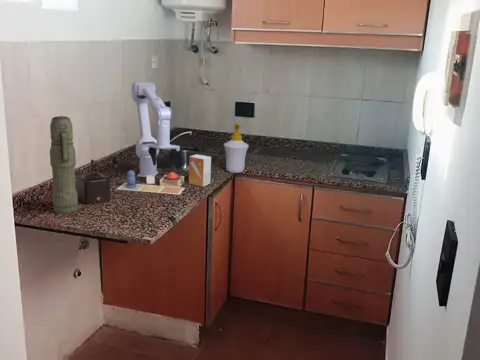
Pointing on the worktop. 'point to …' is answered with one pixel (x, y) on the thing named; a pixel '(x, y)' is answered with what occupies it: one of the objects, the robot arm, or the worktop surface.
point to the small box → (199, 170)
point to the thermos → (63, 166)
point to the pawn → (131, 179)
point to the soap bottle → (235, 152)
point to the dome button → (172, 176)
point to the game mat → (153, 189)
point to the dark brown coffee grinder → (95, 184)
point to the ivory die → (150, 178)
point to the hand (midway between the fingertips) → (162, 165)
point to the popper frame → (172, 181)
